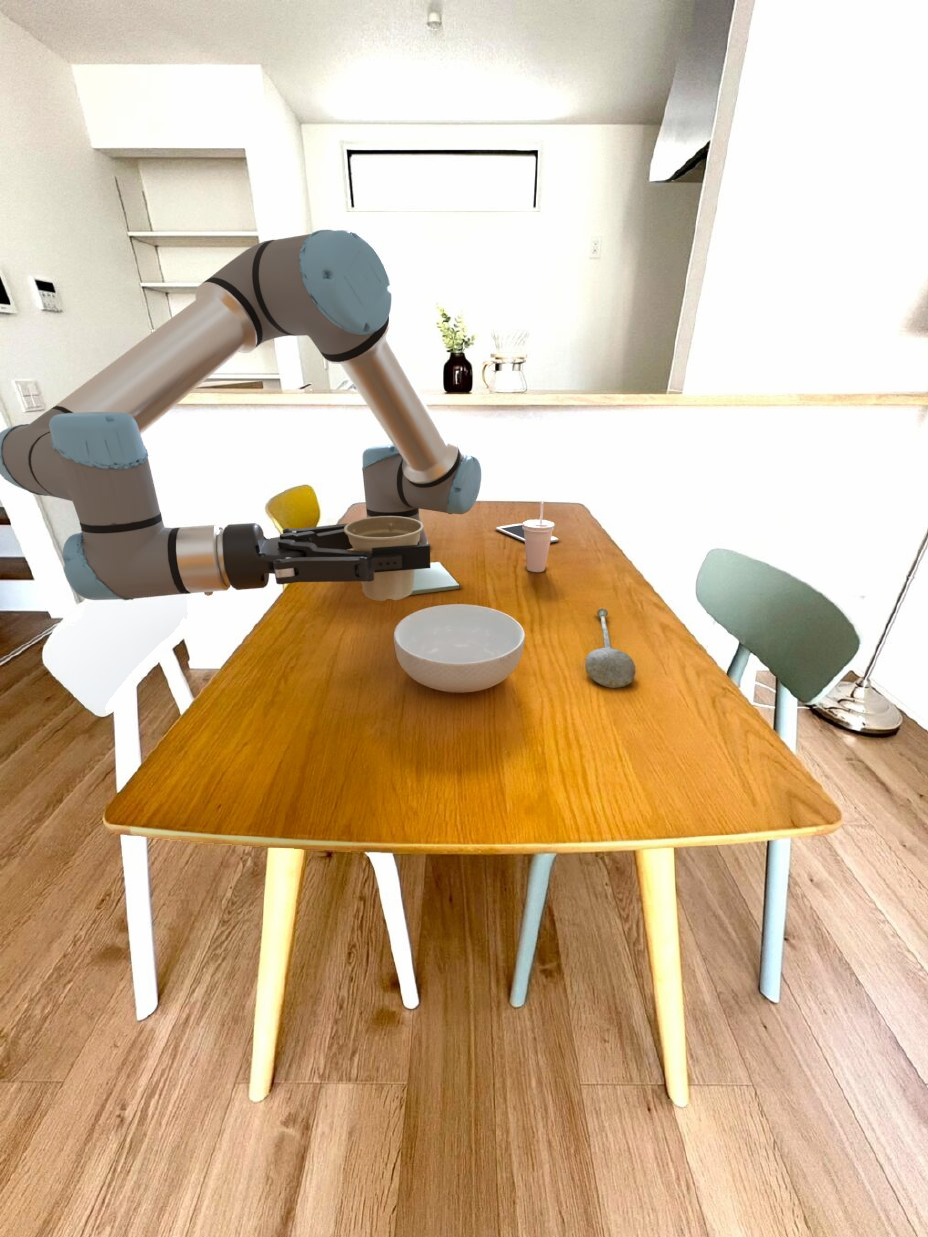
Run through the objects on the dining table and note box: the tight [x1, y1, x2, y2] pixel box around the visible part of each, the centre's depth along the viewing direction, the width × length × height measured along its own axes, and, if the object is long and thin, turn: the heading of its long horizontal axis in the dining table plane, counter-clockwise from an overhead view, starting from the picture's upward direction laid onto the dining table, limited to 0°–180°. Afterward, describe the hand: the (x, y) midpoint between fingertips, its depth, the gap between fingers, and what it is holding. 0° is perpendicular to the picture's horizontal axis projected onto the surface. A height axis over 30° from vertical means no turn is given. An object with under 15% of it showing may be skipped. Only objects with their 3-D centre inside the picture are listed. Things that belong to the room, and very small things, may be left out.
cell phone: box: [495, 523, 559, 544], centre depth 130 cm, size 8×16×1 cm, turn 30°
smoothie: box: [522, 501, 555, 573], centre depth 105 cm, size 6×6×14 cm
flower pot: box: [344, 516, 425, 602], centre depth 64 cm, size 9×9×9 cm
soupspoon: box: [584, 607, 636, 689], centre depth 77 cm, size 22×3×7 cm
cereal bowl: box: [393, 603, 526, 694], centre depth 69 cm, size 17×17×7 cm
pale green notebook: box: [409, 561, 460, 596], centre depth 102 cm, size 14×14×1 cm
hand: (423, 544), depth 64 cm, fingers closed on flower pot, 8 cm apart
